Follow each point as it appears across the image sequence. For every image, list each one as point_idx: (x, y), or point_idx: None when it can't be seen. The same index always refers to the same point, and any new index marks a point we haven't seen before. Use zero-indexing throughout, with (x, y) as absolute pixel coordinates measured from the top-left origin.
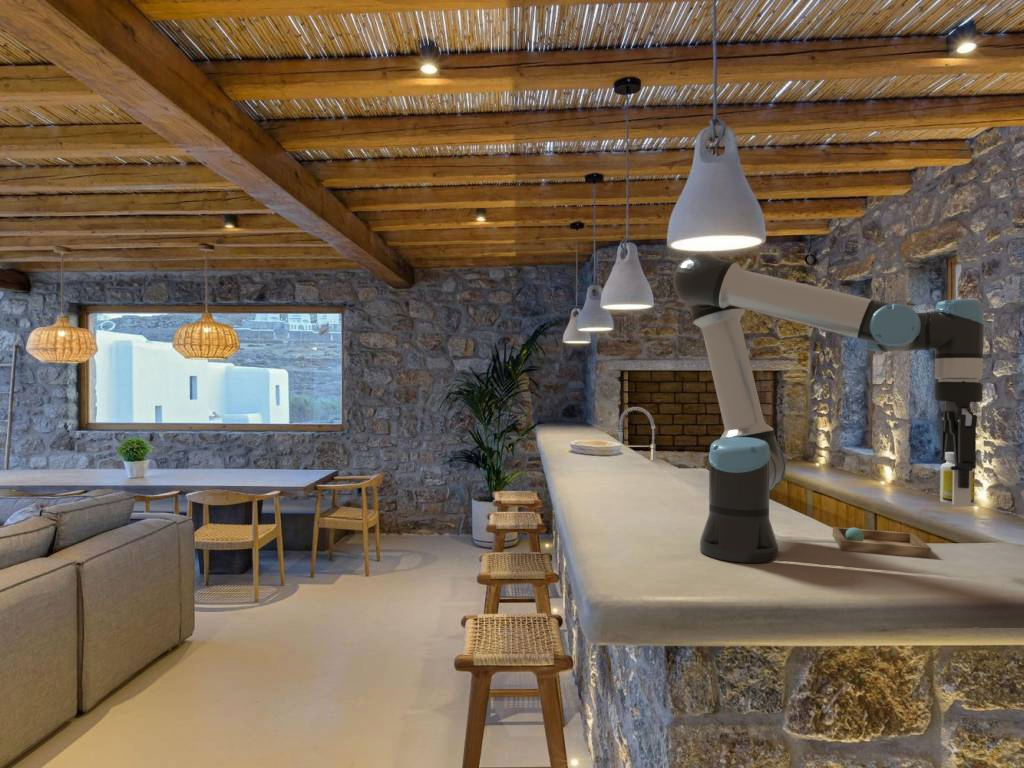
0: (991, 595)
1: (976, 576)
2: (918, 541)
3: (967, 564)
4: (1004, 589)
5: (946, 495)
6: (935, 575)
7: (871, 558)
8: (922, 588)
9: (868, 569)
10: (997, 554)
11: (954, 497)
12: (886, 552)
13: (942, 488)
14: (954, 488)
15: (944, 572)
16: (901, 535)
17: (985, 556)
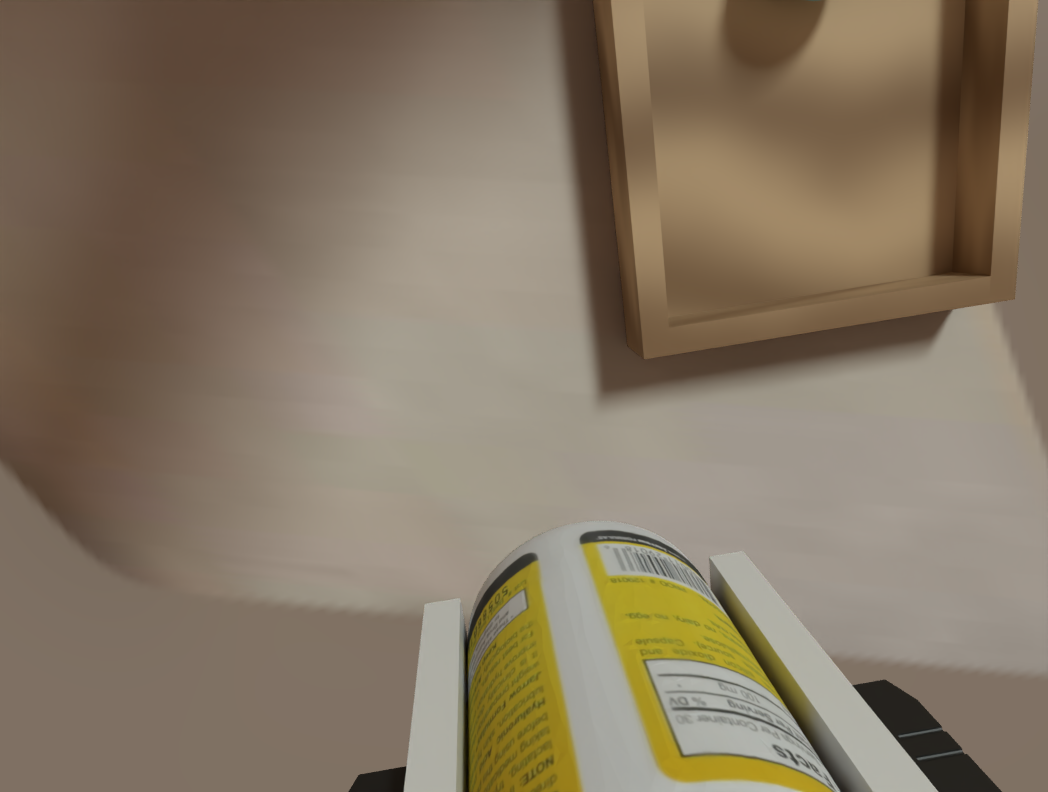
0: (118, 518)
1: (420, 498)
2: (792, 310)
3: (634, 485)
4: (257, 569)
5: (504, 601)
6: (331, 344)
7: (527, 55)
8: (28, 272)
9: (248, 28)
10: (889, 606)
11: (421, 654)
12: (610, 136)
13: (557, 611)
14: (413, 722)
15: (417, 385)
16: (981, 233)
17: (829, 562)
